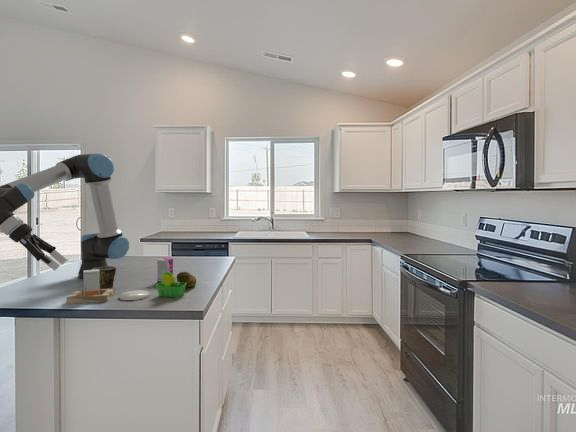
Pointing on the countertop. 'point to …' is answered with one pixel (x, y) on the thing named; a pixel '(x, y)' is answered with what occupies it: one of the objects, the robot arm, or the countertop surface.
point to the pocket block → (90, 296)
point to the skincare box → (91, 282)
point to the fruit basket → (170, 286)
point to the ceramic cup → (106, 276)
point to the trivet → (134, 295)
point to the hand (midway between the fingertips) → (61, 265)
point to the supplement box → (164, 268)
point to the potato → (186, 279)
